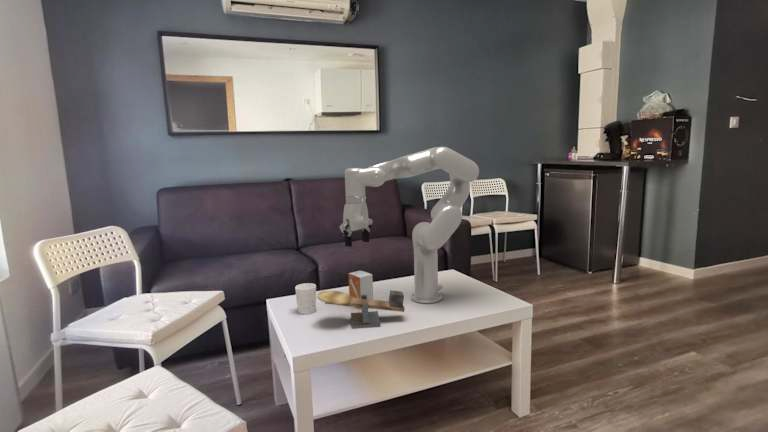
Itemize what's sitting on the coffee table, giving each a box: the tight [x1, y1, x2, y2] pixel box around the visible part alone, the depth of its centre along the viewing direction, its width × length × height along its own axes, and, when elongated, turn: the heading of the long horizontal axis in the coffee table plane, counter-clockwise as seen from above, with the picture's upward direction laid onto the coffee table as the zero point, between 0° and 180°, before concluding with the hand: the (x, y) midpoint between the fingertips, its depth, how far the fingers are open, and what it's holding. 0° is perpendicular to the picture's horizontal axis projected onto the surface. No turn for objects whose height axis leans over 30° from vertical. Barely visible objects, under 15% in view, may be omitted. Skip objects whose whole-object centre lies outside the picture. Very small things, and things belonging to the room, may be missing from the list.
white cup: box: [294, 282, 317, 315], centre depth 158 cm, size 8×8×10 cm
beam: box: [316, 290, 405, 313], centre depth 147 cm, size 31×12×6 cm, turn 95°
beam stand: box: [350, 295, 382, 329], centre depth 147 cm, size 10×12×8 cm
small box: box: [348, 270, 374, 310], centre depth 163 cm, size 8×6×13 cm
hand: (357, 244), depth 160 cm, fingers open, 9 cm apart
